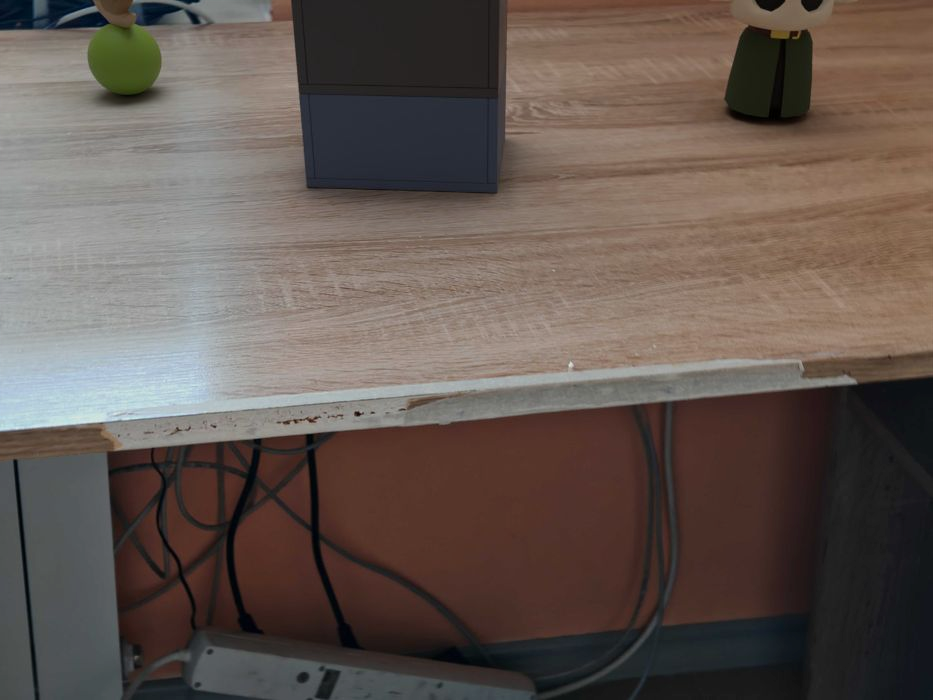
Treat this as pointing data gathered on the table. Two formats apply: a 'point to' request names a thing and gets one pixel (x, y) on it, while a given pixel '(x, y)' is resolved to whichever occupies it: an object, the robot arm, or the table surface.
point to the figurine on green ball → (123, 51)
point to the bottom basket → (404, 141)
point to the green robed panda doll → (774, 55)
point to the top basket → (400, 47)
